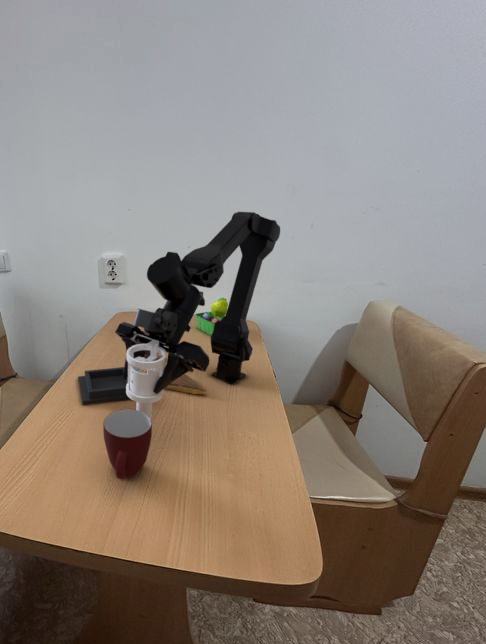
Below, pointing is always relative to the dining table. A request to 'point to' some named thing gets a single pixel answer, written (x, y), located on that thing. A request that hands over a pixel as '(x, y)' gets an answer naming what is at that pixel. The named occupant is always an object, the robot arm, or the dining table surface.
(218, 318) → the fruit basket
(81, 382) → the dock pad
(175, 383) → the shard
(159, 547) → the dining table surface
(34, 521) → the dining table surface
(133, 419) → the mug
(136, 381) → the white stemmed open cylinder
